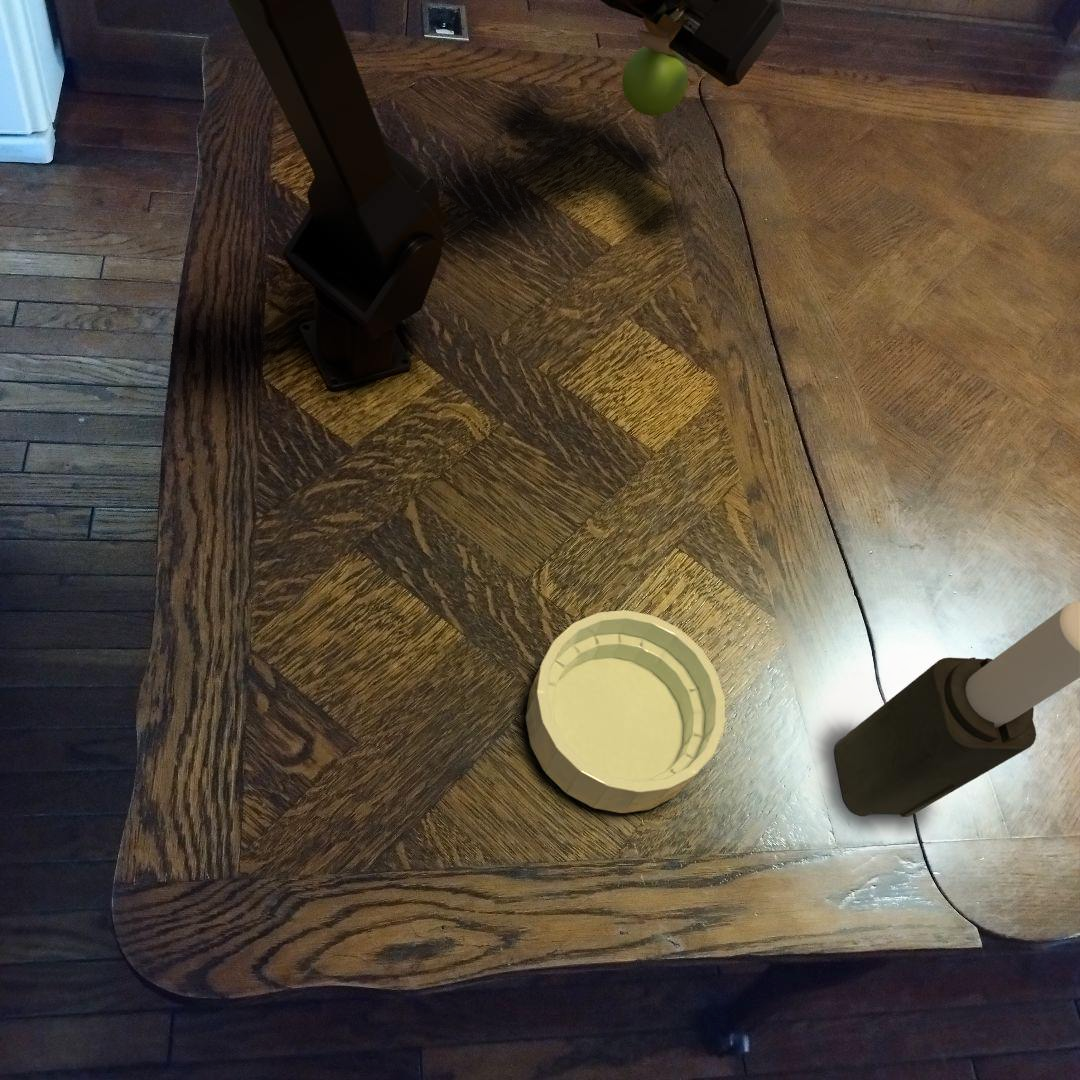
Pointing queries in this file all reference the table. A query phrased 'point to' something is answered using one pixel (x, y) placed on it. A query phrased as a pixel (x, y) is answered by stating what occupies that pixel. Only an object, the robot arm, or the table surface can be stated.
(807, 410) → the table surface
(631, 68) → the snail figurine
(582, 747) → the bowl
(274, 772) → the table surface
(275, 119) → the table surface
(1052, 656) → the candle
